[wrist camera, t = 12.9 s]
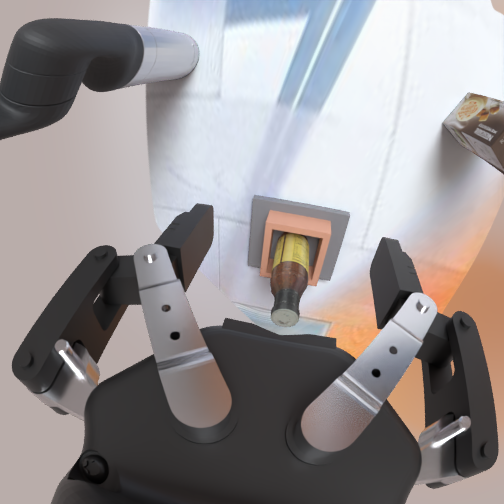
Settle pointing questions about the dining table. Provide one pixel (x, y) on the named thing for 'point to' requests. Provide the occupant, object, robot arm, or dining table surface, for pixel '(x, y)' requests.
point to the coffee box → (480, 127)
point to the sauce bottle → (289, 277)
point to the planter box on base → (300, 222)
